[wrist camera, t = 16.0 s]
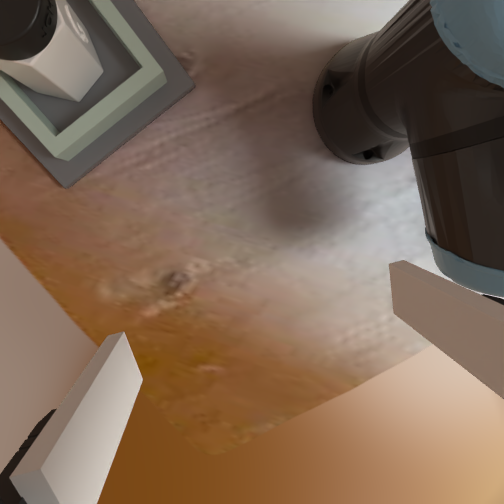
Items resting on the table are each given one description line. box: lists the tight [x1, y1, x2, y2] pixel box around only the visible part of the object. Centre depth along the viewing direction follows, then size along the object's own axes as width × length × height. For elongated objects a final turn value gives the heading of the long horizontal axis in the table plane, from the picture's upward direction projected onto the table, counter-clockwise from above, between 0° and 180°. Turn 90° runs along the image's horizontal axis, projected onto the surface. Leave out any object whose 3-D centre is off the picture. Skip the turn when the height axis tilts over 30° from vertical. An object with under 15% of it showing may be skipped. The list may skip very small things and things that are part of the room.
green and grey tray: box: [0, 0, 195, 189], centre depth 32 cm, size 20×20×4 cm
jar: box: [0, 0, 103, 102], centre depth 27 cm, size 9×8×12 cm
